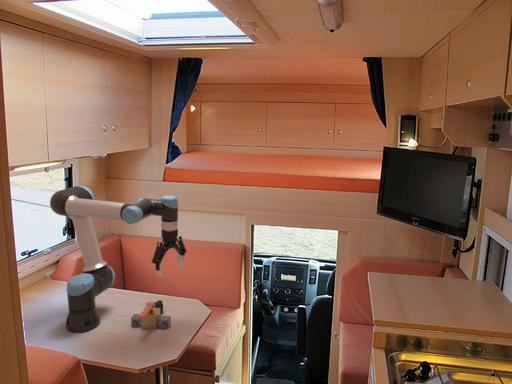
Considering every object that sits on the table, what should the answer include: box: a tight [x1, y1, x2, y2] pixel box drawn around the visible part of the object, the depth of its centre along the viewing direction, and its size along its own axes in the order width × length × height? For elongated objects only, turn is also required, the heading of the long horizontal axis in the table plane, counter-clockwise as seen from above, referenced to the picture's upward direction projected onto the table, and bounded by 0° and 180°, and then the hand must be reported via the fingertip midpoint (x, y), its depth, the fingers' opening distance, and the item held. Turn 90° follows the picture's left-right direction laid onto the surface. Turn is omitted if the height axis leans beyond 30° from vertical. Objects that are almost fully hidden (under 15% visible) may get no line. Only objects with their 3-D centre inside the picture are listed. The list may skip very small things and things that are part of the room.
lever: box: [139, 301, 156, 319], centre depth 186 cm, size 14×4×2 cm, turn 176°
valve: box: [130, 308, 172, 330], centre depth 192 cm, size 18×7×9 cm, turn 86°
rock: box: [154, 300, 164, 315], centre depth 202 cm, size 9×10×6 cm
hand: (169, 272), depth 191 cm, fingers open, 13 cm apart
